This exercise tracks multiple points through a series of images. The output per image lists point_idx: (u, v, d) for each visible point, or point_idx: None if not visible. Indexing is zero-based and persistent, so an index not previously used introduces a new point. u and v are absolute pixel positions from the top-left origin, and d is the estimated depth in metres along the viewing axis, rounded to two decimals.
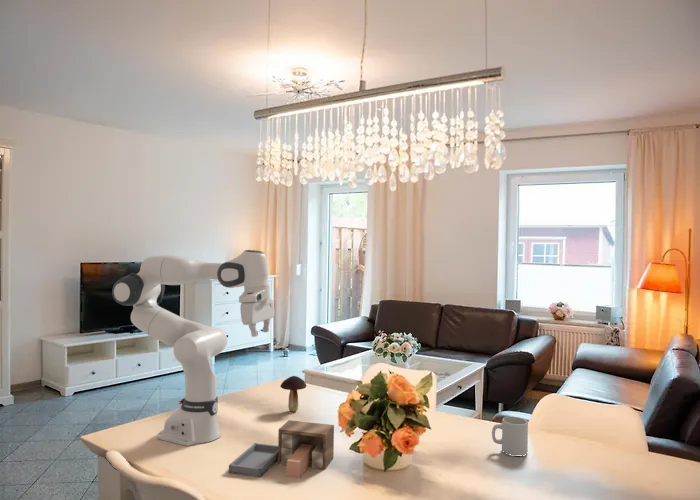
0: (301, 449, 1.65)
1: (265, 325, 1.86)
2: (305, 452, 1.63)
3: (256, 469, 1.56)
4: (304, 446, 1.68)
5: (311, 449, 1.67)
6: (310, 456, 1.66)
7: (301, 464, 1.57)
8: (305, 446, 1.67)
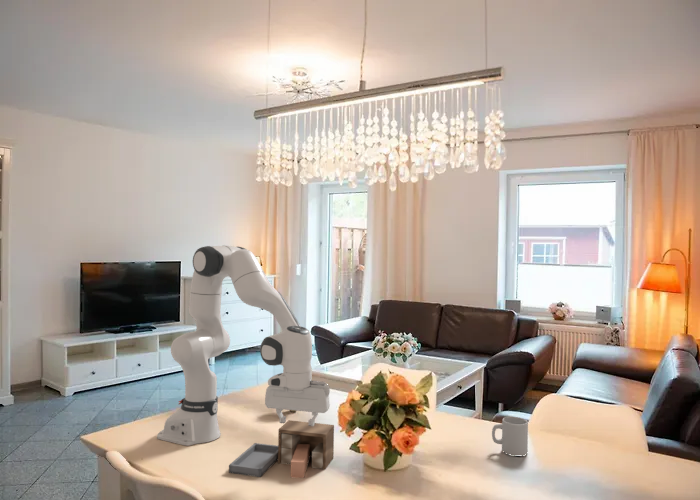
0: (300, 449, 1.65)
1: None
2: (305, 451, 1.63)
3: (256, 469, 1.56)
4: (301, 446, 1.68)
5: (309, 448, 1.67)
6: (308, 455, 1.66)
7: (304, 464, 1.57)
8: (302, 446, 1.68)
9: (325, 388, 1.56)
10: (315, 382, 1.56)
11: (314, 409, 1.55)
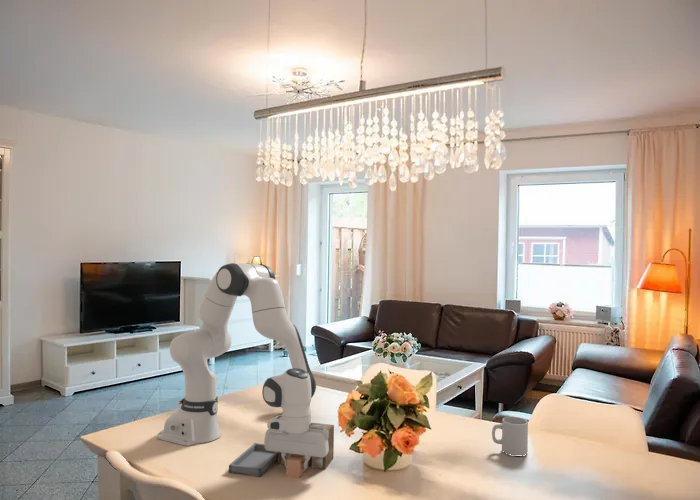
0: None
1: None
2: None
3: (256, 469, 1.56)
4: None
5: None
6: None
7: None
8: None
9: (324, 432, 1.56)
10: (314, 426, 1.56)
11: (313, 453, 1.55)
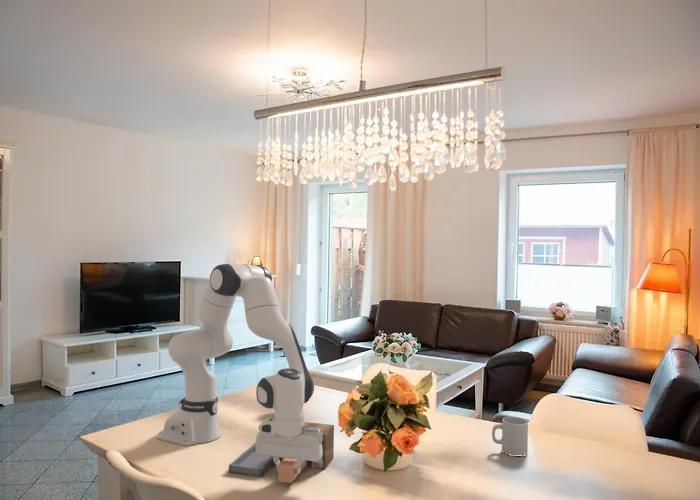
0: None
1: None
2: None
3: (256, 469, 1.56)
4: None
5: None
6: None
7: (293, 467, 1.50)
8: None
9: (318, 435, 1.49)
10: (308, 429, 1.50)
11: (306, 457, 1.49)
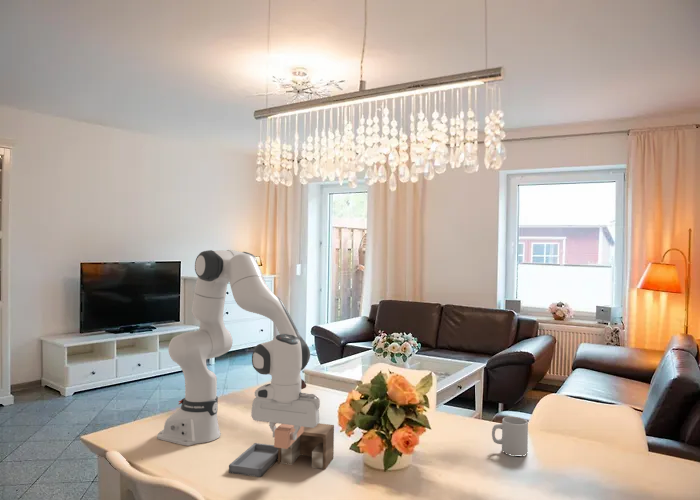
0: None
1: None
2: None
3: (256, 469, 1.56)
4: None
5: None
6: None
7: (289, 434, 1.48)
8: None
9: (315, 401, 1.47)
10: (304, 394, 1.48)
11: (303, 423, 1.46)
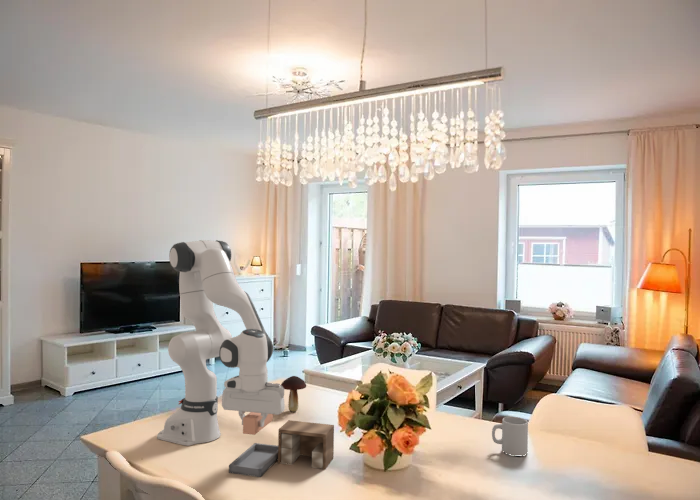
0: None
1: (262, 418, 1.61)
2: None
3: (256, 469, 1.56)
4: None
5: None
6: (269, 415, 1.69)
7: (257, 421, 1.60)
8: None
9: (280, 390, 1.59)
10: (270, 384, 1.59)
11: (269, 411, 1.58)
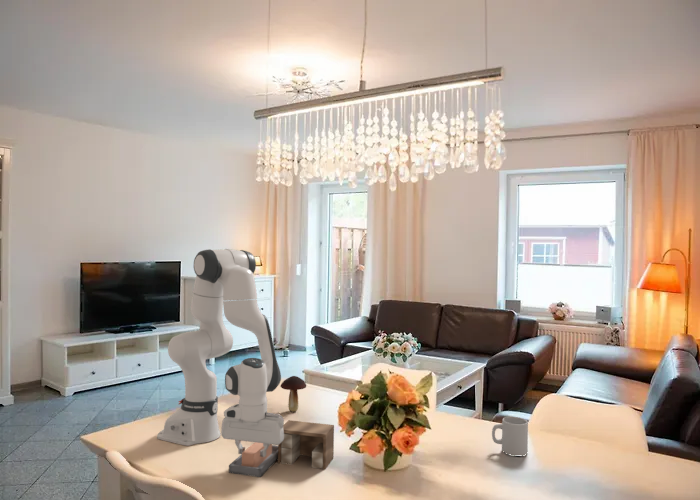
0: None
1: None
2: (262, 445, 1.66)
3: (256, 469, 1.56)
4: None
5: None
6: (268, 449, 1.69)
7: (256, 456, 1.60)
8: None
9: (279, 420, 1.59)
10: (270, 414, 1.60)
11: (268, 441, 1.58)
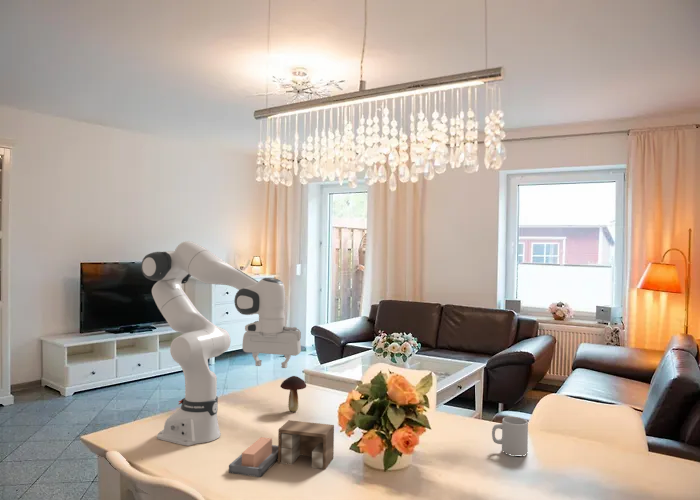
0: (259, 442, 1.68)
1: None
2: (262, 445, 1.66)
3: (256, 469, 1.56)
4: (263, 439, 1.71)
5: (269, 442, 1.70)
6: (268, 449, 1.69)
7: (256, 456, 1.60)
8: (264, 439, 1.70)
9: (297, 333, 1.71)
10: (288, 328, 1.72)
11: (286, 352, 1.71)
